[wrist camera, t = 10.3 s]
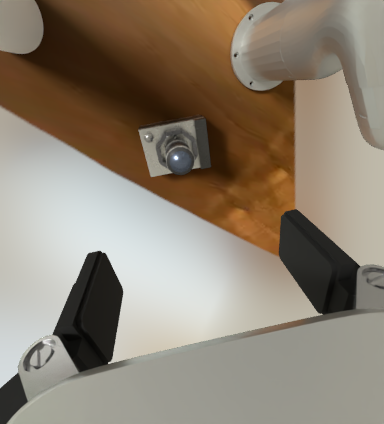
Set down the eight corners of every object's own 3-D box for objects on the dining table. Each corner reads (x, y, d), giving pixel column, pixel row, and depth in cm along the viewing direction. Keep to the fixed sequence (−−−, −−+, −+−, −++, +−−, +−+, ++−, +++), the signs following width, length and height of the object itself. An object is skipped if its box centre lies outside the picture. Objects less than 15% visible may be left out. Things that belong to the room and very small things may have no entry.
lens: (186, 134, 40) (192, 144, 33) (190, 158, 43) (197, 172, 36) (162, 138, 40) (163, 150, 33) (167, 163, 42) (169, 178, 35)
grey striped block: (200, 114, 43) (207, 119, 37) (205, 158, 48) (212, 169, 42) (140, 125, 43) (137, 132, 37) (151, 169, 48) (150, 181, 42)
